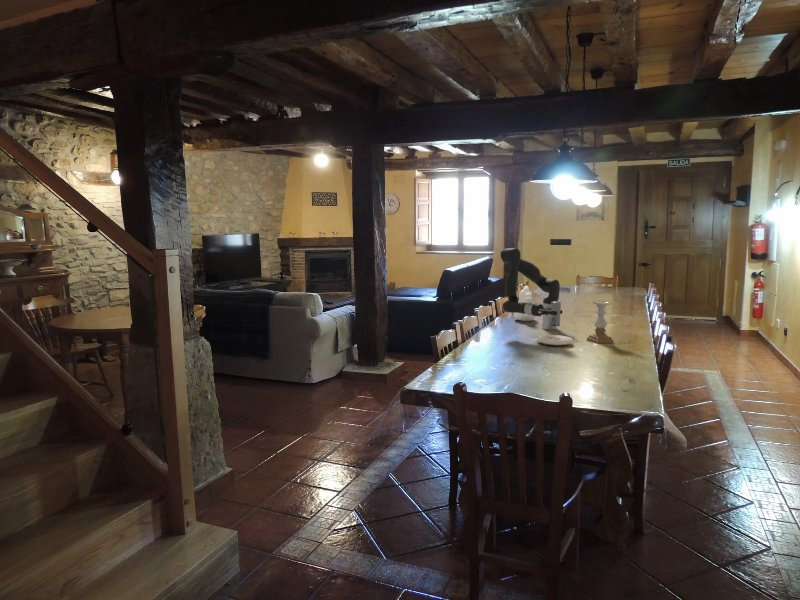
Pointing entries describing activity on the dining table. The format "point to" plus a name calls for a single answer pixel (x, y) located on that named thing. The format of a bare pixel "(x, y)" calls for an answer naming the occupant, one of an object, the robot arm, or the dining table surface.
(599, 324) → the candle holder
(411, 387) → the dining table surface
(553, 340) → the disc
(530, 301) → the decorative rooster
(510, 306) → the robot arm
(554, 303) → the cup
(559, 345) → the turntable base
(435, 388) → the dining table surface
